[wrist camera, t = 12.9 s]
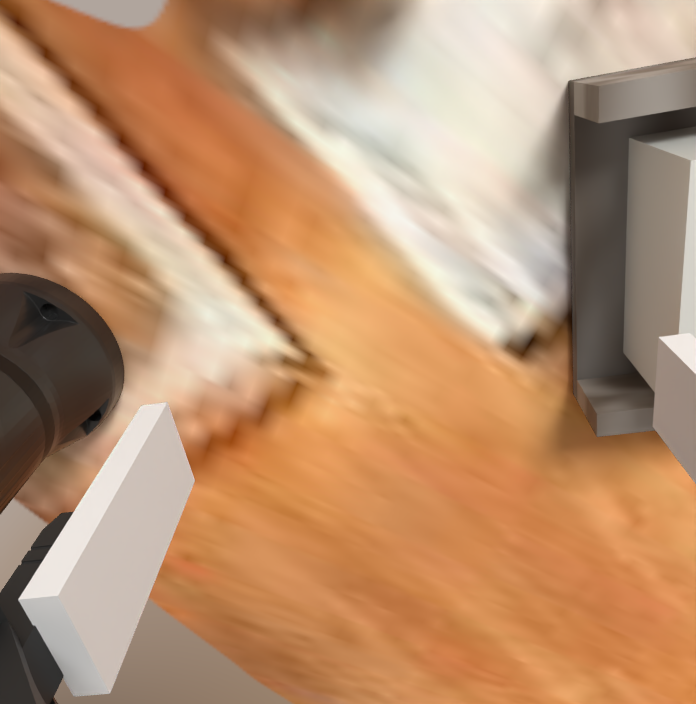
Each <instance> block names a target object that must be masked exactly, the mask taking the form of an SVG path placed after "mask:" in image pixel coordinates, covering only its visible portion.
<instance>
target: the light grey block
mask: <svg viewBox="0 0 696 704" xmlns="http://www.w3.org/2000/svg"><path fill="white" fill-rule="evenodd" d="M686 333H690V334H692V335H693V336H694V337H695V338H696V126H695V127H689V128H684V129H678V130H672V131H666V132H660V133H654V134H648V135H642V136H636V137H630V138H629V157H628V194H627V231H626V268H625V305H624V342H623V353H624V354H625V355H626V357H627V358H628V359H629V360H630V362H631V363H632V364H633V365H634V367H635V368H636V369H637V371H638V372H639V373H640V374H641V376H642V377H643V378H644V379H645V381H646V382H647V383H648V385H649V386H650V387H651V388H652V390H653V391H654V392H655V383H656V368H657V353H658V338H659V337H663V336H671V335H678V334H686Z"/></svg>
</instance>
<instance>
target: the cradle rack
mask: <svg viewBox="0 0 696 704" xmlns="http://www.w3.org/2000/svg"><path fill="white" fill-rule="evenodd" d="M695 126H696V58H691V59H685V60H680V61H674V62H669V63H663V64H658V65H652V66H647V67H641V68H636V69H631V70H625V71H620V72H614V73H609V74H603V75H598V76H592V77H587V78H581V79H576V80H570V81H569V129H570V199H571V269H572V339H573V394H574V396H575V398H576V400H577V402H578V403H579V405H580V407H581V409H582V411H583V412H584V414H585V416H586V418H587V420H588V422H589V423H590V425H591V427H592V429H593V431H594V433H595V434H596V436H597V437H601V436H610V435H619V434H628V433H637V432H646V431H655V429H654V428H653V413H654V398H655V392H654V391H653V390H652V388H651V387H650V386H649V385H648V383H647V382H646V381H645V379H644V378H643V377H642V376H641V374H640V373H639V372H638V371H637V369H636V368H635V367H634V365H633V364H632V363H631V362H630V360H629V359H628V358H627V357H626V355H625V354H624V353H623V342H624V305H625V268H626V231H627V194H628V157H629V138H630V137H636V136H642V135H648V134H654V133H660V132H666V131H672V130H678V129H684V128H689V127H695Z"/></svg>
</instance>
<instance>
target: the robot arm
mask: <svg viewBox="0 0 696 704" xmlns="http://www.w3.org/2000/svg"><path fill="white" fill-rule="evenodd" d="M123 381H124V366H123V360H122V355H121V352H120V349H119V346H118V344H117V341H116V339H115V337H114V335H113V333H112V332H111V330H110V328H109V327H108V326H107V324H106V323H105V321H104V320H103V319H102V318H101V316H100V315H99V314H98V313H97V312H96V311H95V310H94V309H93V308H92V307H91V306H90V305H89V304H88V303H87V302H85V301H84V300H83V299H82V298H80V297H79V296H77V295H76V294H75V293H73V292H71V291H70V290H68V289H66V288H65V287H63V286H61V285H59V284H56V283H54V282H52V281H49V280H47V279H44V278H40V277H37V276H32V275H27V274H19V273H3V274H0V514H1V513H2V511H3V510H4V509H5V508H6V506H7V505H8V504H9V503H10V501H11V500H12V499H13V498H14V496H15V495H16V494H17V493H18V491H19V490H20V489H21V487H22V486H23V485H24V484H25V482H26V481H27V480H28V479H29V477H30V476H31V475H32V474H33V472H34V471H35V470H36V468H37V467H38V466H39V465H40V463H41V462H42V461H43V460H44V459H45V458H46V457H48V456H50V455H52V454H53V453H55V452H57V451H59V450H61V449H63V448H65V447H67V446H69V445H70V444H72V443H74V442H76V441H78V440H80V439H82V438H84V437H85V436H87V435H88V434H90V433H91V432H93V431H94V430H95V429H96V428H97V427H98V426H99V425H100V424H101V423H102V422H103V421H104V419H105V418H106V417H107V415H108V414H109V413H110V411H111V410H112V409H113V407H114V406H115V404H116V403H117V401H118V399H119V397H120V394H121V391H122V387H123ZM653 428H654V429H655V430H656V432H657V433H658V434H659V436H660V437H661V438H662V440H663V441H664V442H665V444H666V445H667V446H668V448H669V449H670V450H671V452H672V453H673V454H674V456H675V457H676V458H677V460H678V461H679V462H680V464H681V465H682V466H683V468H684V469H685V470H686V472H687V473H688V474H689V476H690V477H691V478H692V480H693V481H694V482H695V484H696V338H695V337H694V336H693V335H692V334H690V333H686V334H678V335H671V336H663V337H659V338H658V353H657V368H656V383H655V398H654V413H653ZM194 482H195V479H194V477H193V474H192V471H191V468H190V465H189V462H188V459H187V456H186V454H185V451H184V448H183V445H182V442H181V439H180V436H179V434H178V431H177V428H176V425H175V422H174V419H173V416H172V414H171V411H170V408H169V405H168V402H165V403H157V404H150V405H142V406H141V407H140V408H139V410H138V411H137V413H136V415H135V416H134V418H133V419H132V421H131V422H130V424H129V426H128V427H127V429H126V430H125V432H124V434H123V435H122V437H121V438H120V440H119V441H118V443H117V445H116V446H115V448H114V449H113V451H112V452H111V454H110V456H109V457H108V459H107V460H106V462H105V463H104V465H103V467H102V468H101V470H100V471H99V473H98V475H97V476H96V478H95V479H94V481H93V482H92V484H91V486H90V487H89V489H88V490H87V492H86V493H85V495H84V497H83V498H82V500H81V501H80V503H79V505H78V506H77V508H76V509H75V511H74V512H67V513H61V514H60V515H59V516H58V517H57V518H55V519H54V520H53V521H52V522H51V523H50V524H49V525H48V526H46V527H45V528H44V529H43V530H42V532H41V533H40V535H39V536H38V538H37V539H36V541H35V542H34V543H33V545H32V547H31V551H28V552H27V554H26V555H25V557H24V558H23V560H22V564H21V565H19V566H18V567H17V569H16V570H15V572H14V573H13V575H12V576H11V578H10V579H9V581H8V582H7V583H6V585H5V586H4V588H3V589H2V591H1V593H0V704H58V703H57V702H56V700H55V698H54V695H55V693H56V691H57V689H58V687H59V684H60V683H61V680H62V678H64V680H65V682H66V684H67V686H68V687H69V689H70V691H71V693H72V694H73V696H86V695H98V694H109V693H110V692H111V689H112V687H113V684H114V682H115V680H116V677H117V675H118V672H119V669H120V667H121V664H122V662H123V659H124V657H125V655H126V652H127V649H128V647H129V644H130V642H131V640H132V637H133V635H134V632H135V630H136V627H137V624H138V622H139V619H140V617H141V615H142V612H143V609H144V607H145V604H146V602H147V599H148V597H149V594H150V592H151V589H152V587H153V584H154V582H155V579H156V577H157V574H158V572H159V569H160V567H161V564H162V562H163V559H164V557H165V554H166V552H167V549H168V547H169V544H170V542H171V539H172V537H173V534H174V532H175V529H176V527H177V524H178V522H179V519H180V517H181V514H182V512H183V509H184V507H185V504H186V502H187V499H188V497H189V494H190V492H191V489H192V487H193V484H194Z"/></svg>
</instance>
